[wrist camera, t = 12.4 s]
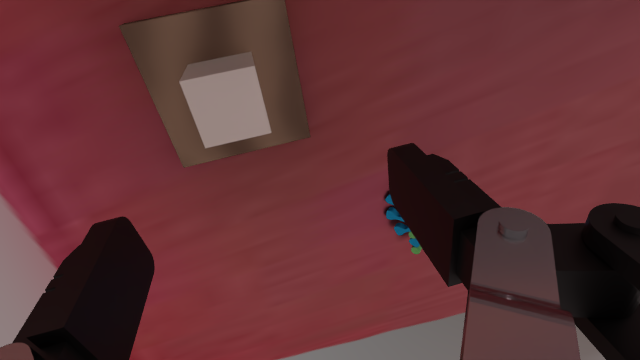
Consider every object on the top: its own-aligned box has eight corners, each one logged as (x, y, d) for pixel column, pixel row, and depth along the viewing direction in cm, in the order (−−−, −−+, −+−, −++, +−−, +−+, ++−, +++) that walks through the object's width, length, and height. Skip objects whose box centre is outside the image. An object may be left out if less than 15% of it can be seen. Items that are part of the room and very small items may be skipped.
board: (281, -7, 26) (289, -4, 22) (307, 130, 32) (317, 152, 28) (124, 23, 24) (104, 32, 20) (185, 159, 31) (178, 186, 27)
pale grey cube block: (251, 51, 26) (254, 65, 22) (265, 110, 29) (271, 132, 25) (187, 64, 25) (179, 81, 21) (209, 123, 28) (205, 148, 24)
